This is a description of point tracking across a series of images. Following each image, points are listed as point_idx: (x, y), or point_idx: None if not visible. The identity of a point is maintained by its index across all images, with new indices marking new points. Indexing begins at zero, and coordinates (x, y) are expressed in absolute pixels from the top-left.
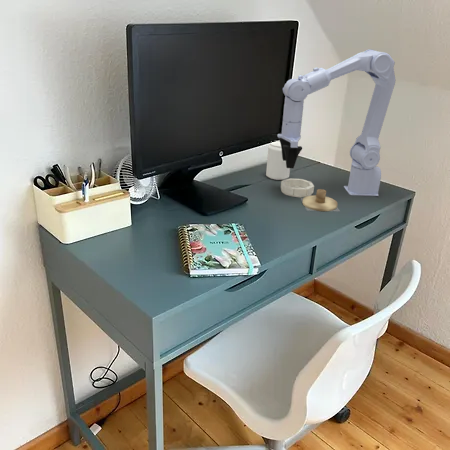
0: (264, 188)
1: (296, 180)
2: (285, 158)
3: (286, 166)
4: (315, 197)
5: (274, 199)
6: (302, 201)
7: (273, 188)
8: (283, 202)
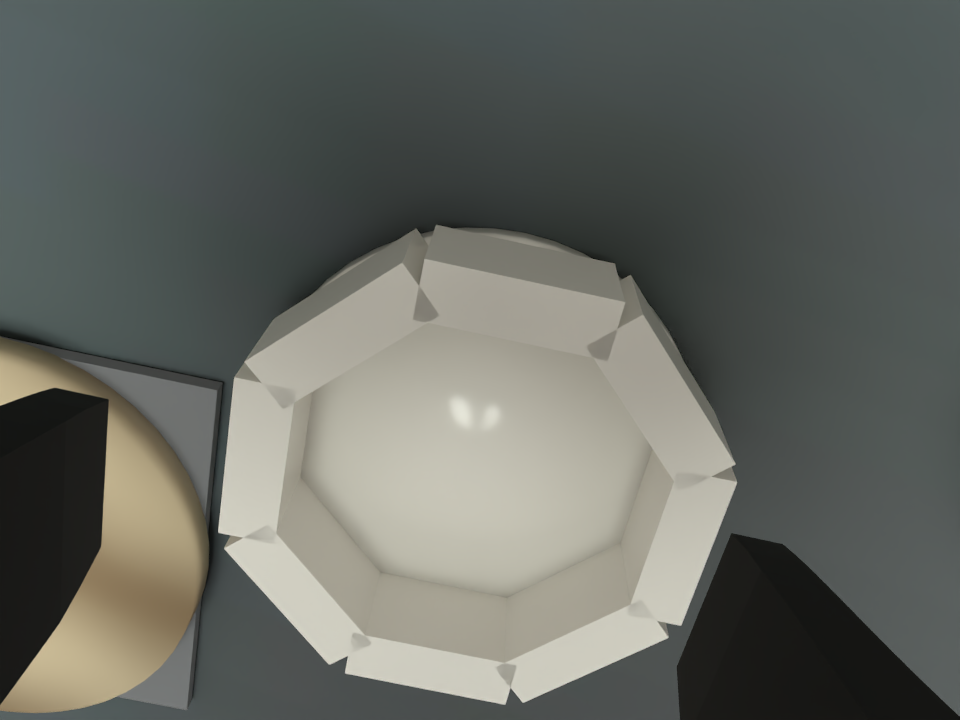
0: (747, 13)
1: (644, 552)
2: (723, 623)
3: (47, 396)
4: (117, 554)
5: (231, 5)
6: (92, 370)
7: (709, 171)
8: (107, 106)
